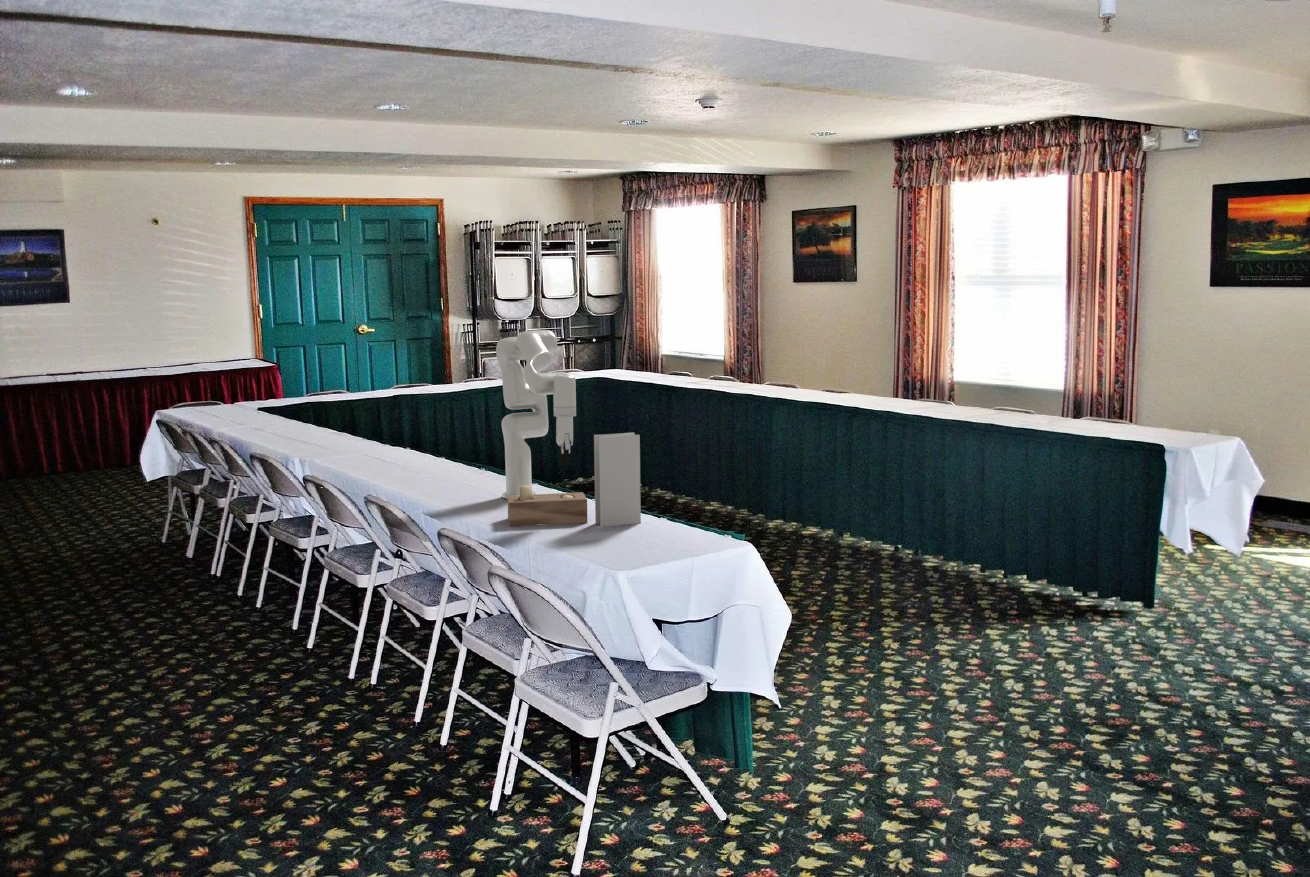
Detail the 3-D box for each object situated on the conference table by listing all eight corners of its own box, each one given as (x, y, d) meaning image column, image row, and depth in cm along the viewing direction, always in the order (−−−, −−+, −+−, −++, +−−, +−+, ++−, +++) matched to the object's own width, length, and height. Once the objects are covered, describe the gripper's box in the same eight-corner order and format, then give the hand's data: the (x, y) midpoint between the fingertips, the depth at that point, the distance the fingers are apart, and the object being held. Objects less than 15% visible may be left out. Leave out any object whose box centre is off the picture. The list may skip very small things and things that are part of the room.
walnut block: (508, 518, 377) (507, 495, 376) (583, 514, 382) (582, 492, 380) (509, 526, 365) (509, 503, 364) (587, 522, 370) (587, 499, 369)
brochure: (635, 519, 374) (634, 432, 369) (640, 523, 369) (639, 434, 364) (595, 523, 369) (593, 435, 364) (600, 526, 364) (599, 437, 359)
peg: (520, 507, 373) (519, 485, 372) (531, 507, 374) (531, 485, 373) (520, 510, 369) (520, 488, 368) (532, 509, 370) (532, 487, 369)
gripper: (551, 408, 375) (552, 461, 378) (555, 414, 361) (557, 469, 364) (573, 408, 377) (574, 460, 380) (578, 414, 362) (579, 468, 365)
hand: (565, 465), depth 372 cm, fingers closed
